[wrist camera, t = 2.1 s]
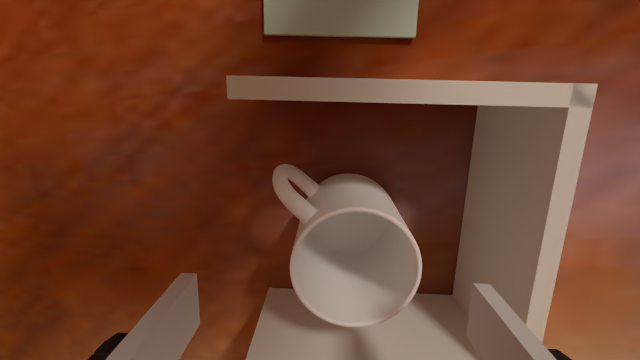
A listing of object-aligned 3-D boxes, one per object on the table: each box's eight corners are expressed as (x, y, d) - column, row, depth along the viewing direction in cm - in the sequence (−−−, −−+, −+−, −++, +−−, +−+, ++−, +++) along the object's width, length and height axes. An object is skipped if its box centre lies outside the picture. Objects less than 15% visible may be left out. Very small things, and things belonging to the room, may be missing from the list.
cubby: (266, 83, 28) (226, 75, 17) (494, 89, 28) (598, 83, 17) (269, 298, 33) (239, 394, 22) (463, 306, 32) (527, 408, 22)
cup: (347, 272, 32) (354, 350, 22) (254, 188, 30) (217, 231, 21) (411, 215, 30) (450, 271, 21) (317, 122, 29) (311, 135, 19)
